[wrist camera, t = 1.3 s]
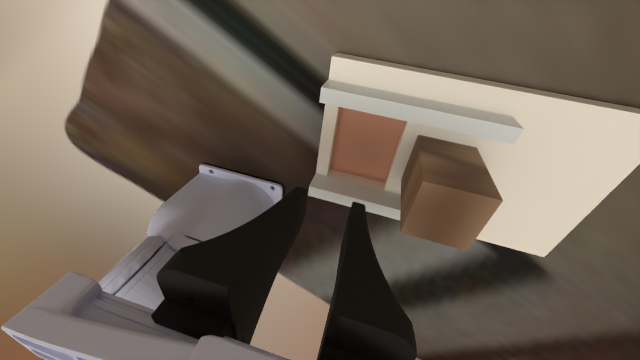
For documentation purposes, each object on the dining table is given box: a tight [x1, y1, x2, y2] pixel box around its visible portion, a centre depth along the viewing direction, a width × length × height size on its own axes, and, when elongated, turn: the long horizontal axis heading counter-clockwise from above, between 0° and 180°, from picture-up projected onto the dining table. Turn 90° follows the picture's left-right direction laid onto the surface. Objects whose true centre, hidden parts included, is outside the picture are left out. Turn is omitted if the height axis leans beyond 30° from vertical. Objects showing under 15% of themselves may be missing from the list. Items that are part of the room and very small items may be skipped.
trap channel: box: [308, 53, 640, 257], centre depth 19 cm, size 20×12×4 cm, turn 83°
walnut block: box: [400, 135, 503, 251], centre depth 17 cm, size 4×4×6 cm
